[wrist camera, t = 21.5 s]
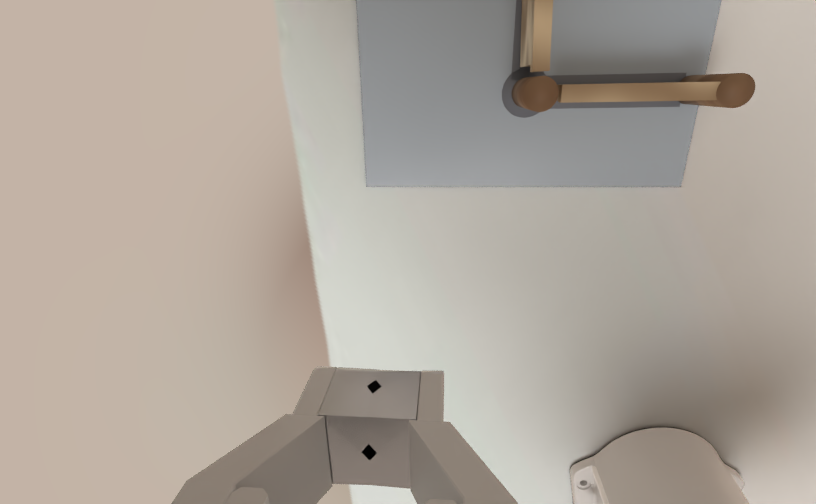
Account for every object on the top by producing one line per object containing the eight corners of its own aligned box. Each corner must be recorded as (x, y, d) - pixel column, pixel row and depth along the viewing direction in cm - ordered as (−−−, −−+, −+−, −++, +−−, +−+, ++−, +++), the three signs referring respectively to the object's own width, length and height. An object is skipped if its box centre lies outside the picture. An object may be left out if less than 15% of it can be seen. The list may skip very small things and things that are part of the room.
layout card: (679, 186, 38) (681, 187, 37) (367, 185, 40) (366, 186, 40) (754, -162, 29) (758, -165, 29) (349, -136, 31) (348, -138, 31)
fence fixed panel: (698, 105, 35) (749, 109, 29) (509, 107, 37) (522, 112, 30) (704, 73, 34) (759, 71, 28) (511, 77, 36) (524, 76, 30)
